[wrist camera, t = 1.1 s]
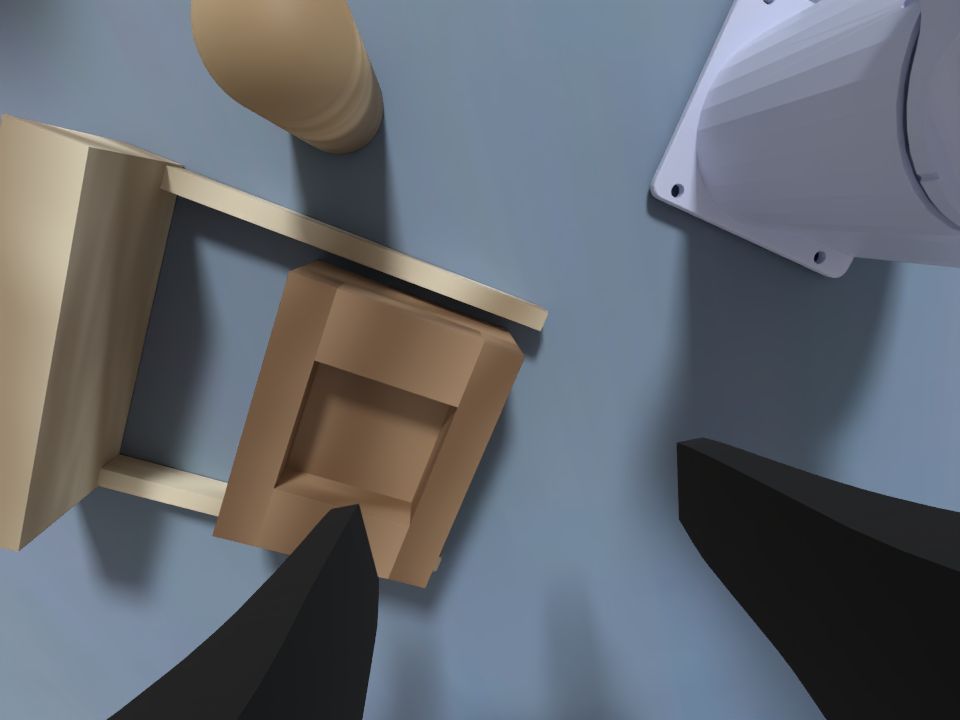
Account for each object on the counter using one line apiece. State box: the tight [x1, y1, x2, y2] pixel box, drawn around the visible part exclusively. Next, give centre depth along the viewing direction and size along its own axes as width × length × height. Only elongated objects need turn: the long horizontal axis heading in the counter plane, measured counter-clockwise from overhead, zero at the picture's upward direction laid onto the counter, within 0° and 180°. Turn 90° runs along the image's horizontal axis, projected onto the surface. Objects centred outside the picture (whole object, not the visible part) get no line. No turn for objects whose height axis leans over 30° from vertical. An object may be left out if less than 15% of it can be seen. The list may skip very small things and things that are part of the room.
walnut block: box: [213, 260, 525, 588], centre depth 19 cm, size 8×10×4 cm
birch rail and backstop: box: [0, 114, 548, 572], centre depth 18 cm, size 16×13×5 cm
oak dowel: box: [191, 0, 383, 154], centre depth 14 cm, size 3×3×7 cm
